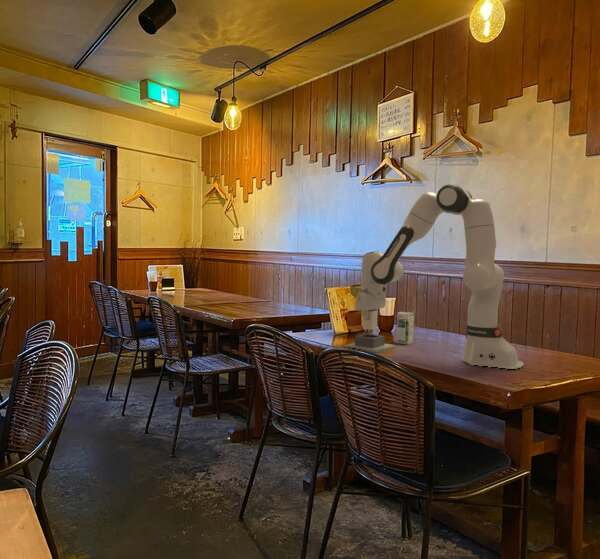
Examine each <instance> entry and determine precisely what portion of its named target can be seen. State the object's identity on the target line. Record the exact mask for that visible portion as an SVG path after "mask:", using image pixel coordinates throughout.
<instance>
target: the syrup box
mask: <svg viewBox="0 0 600 559" xmlns="http://www.w3.org/2000/svg"><path fill="white" fill-rule="evenodd" d="M396 320H397V323H396V324H397V326H396V329H397V330H396V344H402V345H405V346H406V345H407V344H408V345H411V344H413V343H414V326H415V322H414V321H415V312H407V311H400V312H399V311H398V312H397V319H396Z"/></svg>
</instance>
